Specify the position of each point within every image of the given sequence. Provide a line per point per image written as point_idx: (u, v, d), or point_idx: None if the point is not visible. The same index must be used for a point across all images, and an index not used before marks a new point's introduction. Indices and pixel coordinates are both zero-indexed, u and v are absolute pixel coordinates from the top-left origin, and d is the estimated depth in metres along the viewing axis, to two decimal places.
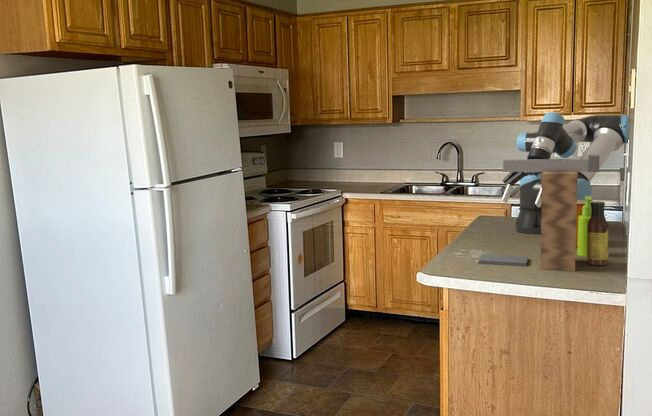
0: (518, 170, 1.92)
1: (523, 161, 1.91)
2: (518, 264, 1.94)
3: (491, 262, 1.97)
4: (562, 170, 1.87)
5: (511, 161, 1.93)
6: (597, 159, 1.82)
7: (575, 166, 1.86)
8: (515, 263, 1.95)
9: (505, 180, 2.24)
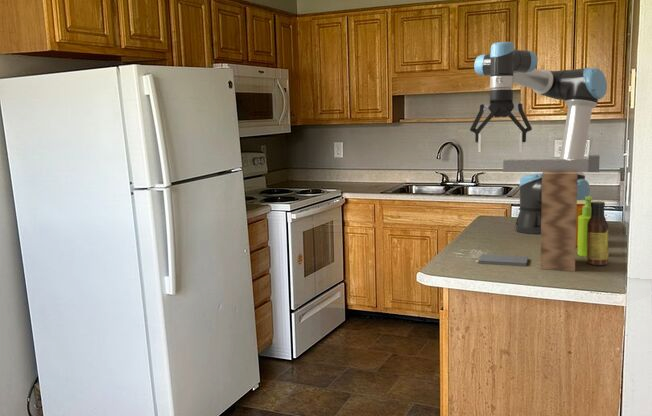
0: (518, 170, 1.92)
1: (523, 161, 1.91)
2: (518, 264, 1.94)
3: (491, 262, 1.97)
4: (562, 170, 1.87)
5: (511, 161, 1.93)
6: (597, 159, 1.82)
7: (575, 166, 1.86)
8: (515, 263, 1.95)
9: (473, 129, 2.09)
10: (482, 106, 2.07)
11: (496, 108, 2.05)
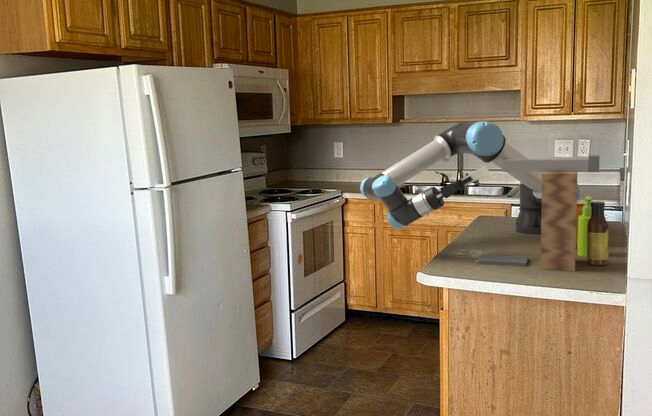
0: (518, 170, 1.92)
1: (523, 161, 1.91)
2: (518, 264, 1.94)
3: (491, 262, 1.97)
4: (562, 170, 1.87)
5: (511, 161, 1.93)
6: (597, 159, 1.82)
7: (575, 166, 1.86)
8: (515, 263, 1.95)
9: None
10: None
11: None
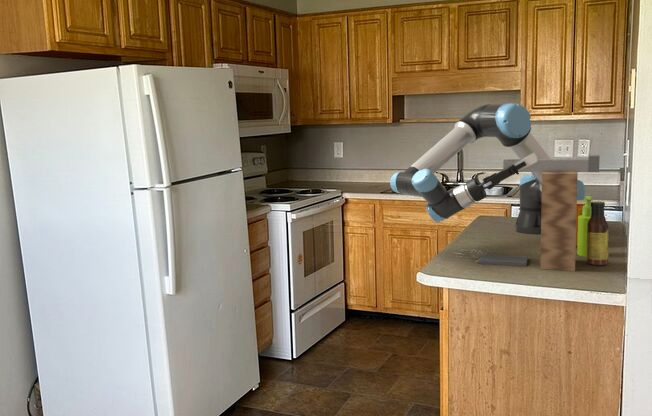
0: None
1: None
2: (518, 264, 1.94)
3: (491, 262, 1.97)
4: (562, 170, 1.87)
5: (511, 161, 1.93)
6: (597, 159, 1.82)
7: (575, 166, 1.86)
8: (515, 263, 1.95)
9: None
10: None
11: None
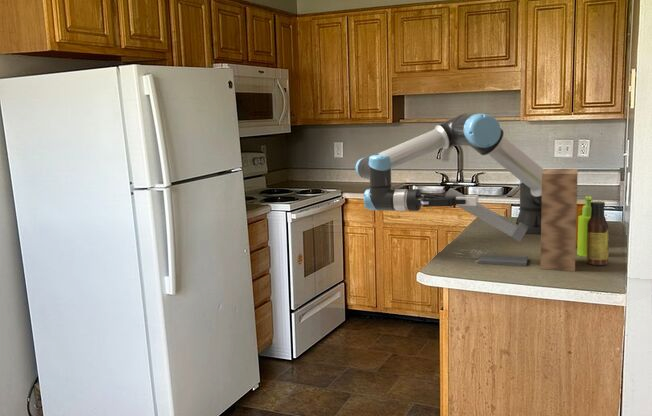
0: None
1: None
2: (518, 264, 1.94)
3: (491, 262, 1.97)
4: (491, 224, 1.98)
5: (455, 193, 2.01)
6: (524, 231, 1.94)
7: (503, 227, 1.97)
8: (515, 263, 1.95)
9: None
10: None
11: None
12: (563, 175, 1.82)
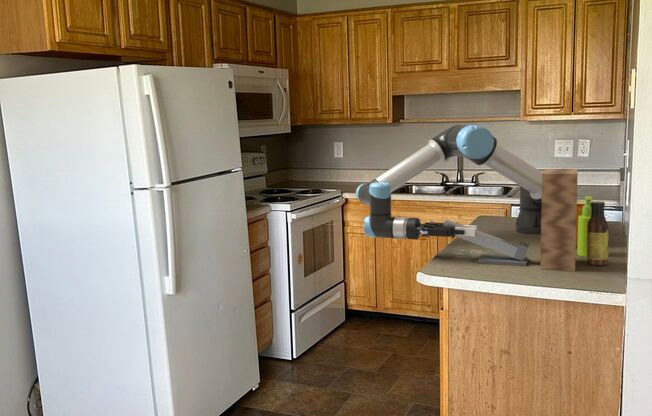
0: None
1: None
2: (518, 264, 1.94)
3: (491, 262, 1.97)
4: (492, 248, 1.99)
5: (451, 224, 2.03)
6: (525, 250, 1.95)
7: (504, 249, 1.98)
8: (515, 263, 1.95)
9: None
10: None
11: None
12: (563, 175, 1.82)
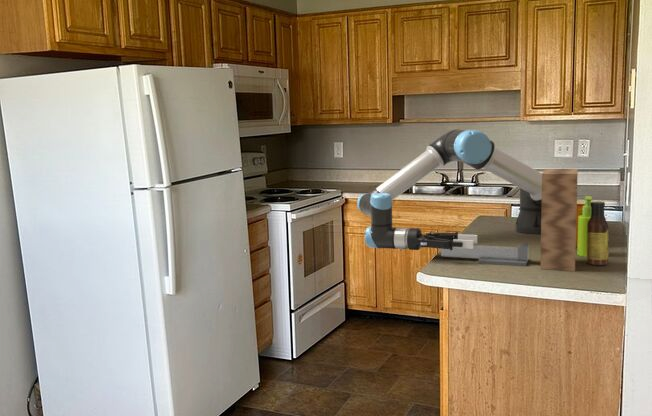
0: (455, 255, 2.05)
1: None
2: (518, 264, 1.94)
3: (491, 262, 1.97)
4: (494, 258, 2.00)
5: None
6: (525, 249, 1.95)
7: (506, 255, 1.98)
8: (515, 263, 1.95)
9: None
10: None
11: None
12: (563, 175, 1.82)
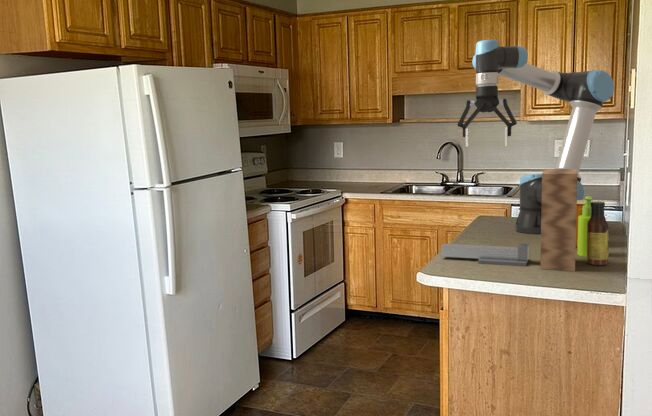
0: (455, 255, 2.05)
1: (459, 247, 2.04)
2: (518, 264, 1.94)
3: (491, 262, 1.97)
4: (494, 258, 2.00)
5: (448, 247, 2.05)
6: (525, 249, 1.95)
7: (506, 255, 1.98)
8: (515, 263, 1.95)
9: (460, 124, 2.17)
10: (468, 102, 2.15)
11: (482, 104, 2.12)
12: (563, 175, 1.82)
